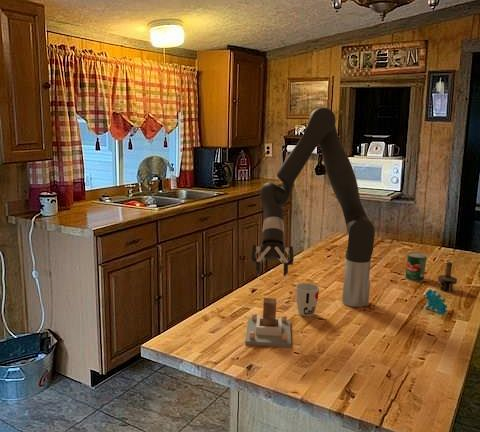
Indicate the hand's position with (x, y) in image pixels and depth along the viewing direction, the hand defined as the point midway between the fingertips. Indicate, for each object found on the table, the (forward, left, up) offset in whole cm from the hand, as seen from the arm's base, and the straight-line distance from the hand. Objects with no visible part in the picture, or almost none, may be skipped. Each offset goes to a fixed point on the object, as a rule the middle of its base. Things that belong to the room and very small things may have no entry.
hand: (271, 274), depth 166 cm
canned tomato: (-63, -55, -17) cm, 85 cm away
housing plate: (0, +9, -17) cm, 19 cm away
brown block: (0, +9, -16) cm, 18 cm away
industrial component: (-72, -43, -17) cm, 86 cm away
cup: (-13, -9, -17) cm, 23 cm away
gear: (-61, -19, -17) cm, 66 cm away
